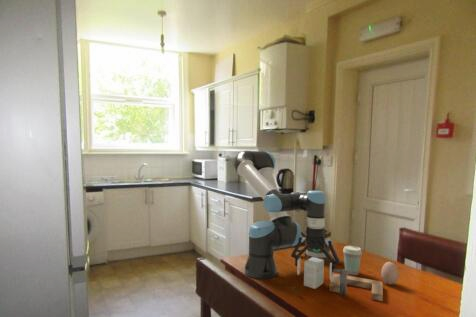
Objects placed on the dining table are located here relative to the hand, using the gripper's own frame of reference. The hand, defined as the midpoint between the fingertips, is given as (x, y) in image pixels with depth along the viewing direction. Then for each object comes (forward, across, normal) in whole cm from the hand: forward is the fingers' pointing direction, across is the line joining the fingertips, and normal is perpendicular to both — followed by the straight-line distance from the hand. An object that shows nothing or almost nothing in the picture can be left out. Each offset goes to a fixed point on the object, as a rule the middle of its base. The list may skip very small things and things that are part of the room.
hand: (314, 276), depth 134 cm
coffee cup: (+4, +14, +22) cm, 26 cm away
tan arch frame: (+4, +17, +4) cm, 17 cm away
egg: (+4, +30, +16) cm, 34 cm away
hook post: (+4, +11, -5) cm, 12 cm away
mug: (+3, -8, +36) cm, 37 cm away
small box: (+4, 0, 0) cm, 4 cm away
